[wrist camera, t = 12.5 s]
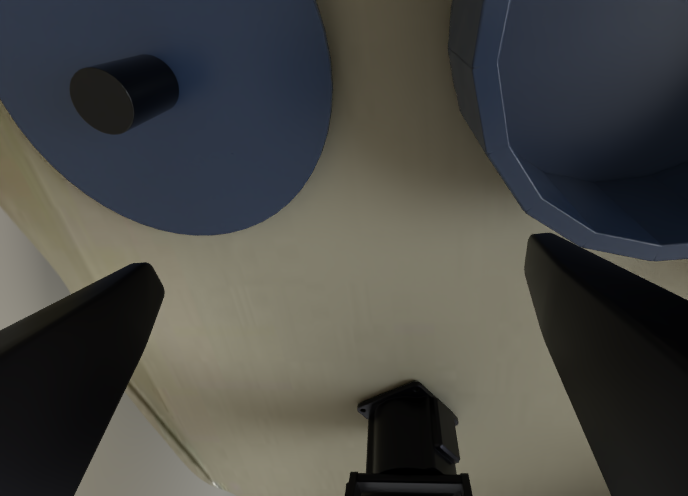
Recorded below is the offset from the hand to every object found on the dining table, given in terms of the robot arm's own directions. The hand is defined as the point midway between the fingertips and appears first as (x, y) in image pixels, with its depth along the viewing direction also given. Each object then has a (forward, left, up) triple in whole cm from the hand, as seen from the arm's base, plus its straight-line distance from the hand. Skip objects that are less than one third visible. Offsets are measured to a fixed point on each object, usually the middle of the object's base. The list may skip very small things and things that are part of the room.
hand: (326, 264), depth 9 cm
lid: (-7, +8, -12) cm, 16 cm away
